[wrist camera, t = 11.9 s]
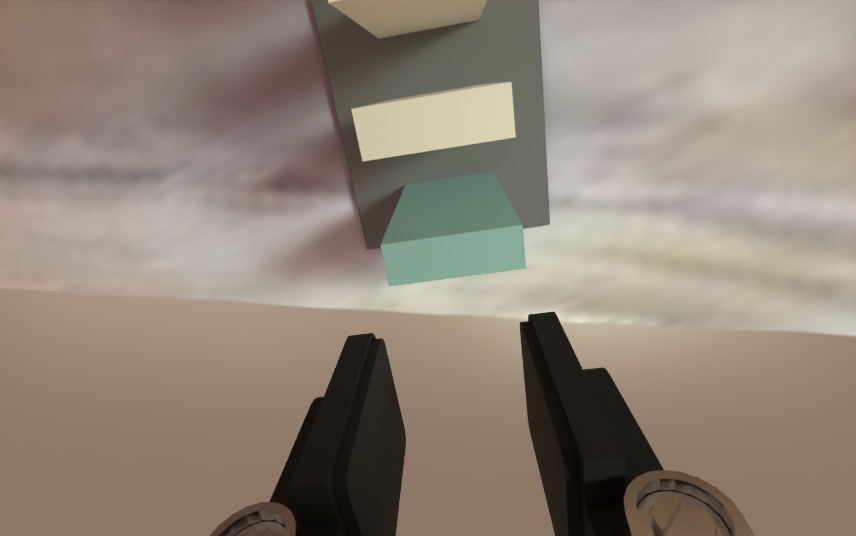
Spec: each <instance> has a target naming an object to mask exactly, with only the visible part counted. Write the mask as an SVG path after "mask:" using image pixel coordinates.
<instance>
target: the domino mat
mask: <svg viewBox="0 0 856 536" xmlns="http://www.w3.org/2000/svg"><path fill="white" fill-rule="evenodd" d="M311 2H312V6H313V11H314V15H315V20H316V24H317V28H318V33H319V37H320V42H321V46H322V50H323V55H324V59H325V64H326V68H327V72H328V77H329V81H330V86H331V90H332V95H333V99H334V103H335V108H336V112H337V117H338V121H339V125H340V130H341V134H342V139H343V143H344V147H345V152H346V156H347V161H348V165H349V169H350V174H351V178H352V183H353V187H354V192H355V196H356V200H357V205H358V209H359V214H360V218H361V222H362V227H363V231H364V236H365V240H366V244H367V249H375V248H381V242H382V240H383V238H384V235H385V233H386V230H387V228H388V225H389V223H390V221H391V218H392V216H393V213H394V211H395V209H396V206H397V204H398V201H399V199H400V197H401V194H402V192H403V189H404V187H405V185H410V184H416V183H423V182H429V181H436V180H442V179H449V178H455V177H462V176H468V175H475V174H481V173H488V172H494V174H495V176H496V178H497V180H498V181H499V183H500V185H501V187H502V189H503V190H504V192H505V194H506V196H507V198H508V199H509V201H510V203H511V205H512V207H513V208H514V210H515V212H516V214H517V216H518V217H519V219H520V221H521V223H522V225H523V228H527V227H535V226H542V225H549V224H550V218H549V198H548V179H547V159H546V140H545V120H544V101H543V82H542V62H541V43H540V23H539V4H538V0H487V2H486V4H485V7H484V9H483V11H482V13H481V15H480V17H479V19H478V20H476V21H471V22H466V23H460V24H455V25H449V26H444V27H439V28H433V29H428V30H423V31H417V32H412V33H406V34H401V35H396V36H390V37H385V38H380V39H379V38H377V37H376V36H374V35H373V34H372V33H370V32H369V31H367V30H366V29H365V28H363V27H362V26H360V25H359V24H358V23H356V22H355V21H353V20H352V19H351V18H349V17H348V16H346V15H345V14H344V13H342V12H341V11H339V10H338V9H337V8H335V7H334V6H332V5H331V4H330V3H328V0H311ZM501 82H512V95H513V108H514V121H515V134H516V137H515V138H508V139H502V140H496V141H489V142H483V143H477V144H470V145H464V146H458V147H451V148H445V149H439V150H432V151H426V152H420V153H413V154H407V155H401V156H394V157H388V158H382V159H375V160H369V161H363V162H362V157H361V152H360V148H359V143H358V138H357V134H356V129H355V124H354V120H353V115H352V110H351V109H354V108H358V107H362V106H366V105H371V104H375V103H379V102H383V101H388V100H393V99H399V98H404V97H410V96H416V95H422V94H428V93H434V92H439V91H445V90H451V89H457V88H463V87H469V86H474V85H480V84H488V83H501Z"/></svg>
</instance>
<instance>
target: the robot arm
mask: <svg viewBox="0 0 856 536" xmlns="http://www.w3.org/2000/svg"><path fill="white" fill-rule="evenodd" d="M520 334H521V344H522V345H521V346H522V357H523V368H524V379H525V391H526V402H527V413H528V422H529V429H530V434H531V438H532V442H533V446H534V450H535V454H536V459H537V463H538V467H539V471H540V475H541V479H542V483H543V487H544V492H545V495H546V500H547V504H548V508H549V512H550V516H551V520H552V524H553V528H554V533H555V536H755V535H754V533H753V532H752V530H751V528H750V526H749V525H748V523H747V521H746V519H745V518H744V516H743V514H742V513H741V512H740V510H739V509H738V508H737V507H736V505H735V504H734V503H733V501H732V500H731V499H730V498H728V497H727V496H726V495H725V494H724V493H722V492H721V491H720V490H719V489H717V487H715V486H713V485H711V484H709V483H708V482H706V481H704V480H702V479H700V478H698V477H695V476H692V475H689V474H686V473H683V472H678V471H669V470H664V469H663V468H662V466H661V465H660V462H659V461H658V459H657V457H656V455H655V454H654V452H653V450H652V448H651V447H650V445H649V443H648V441H647V439H646V438H645V436H644V434H643V433H642V431H641V429H640V427H639V426H638V424H637V422H636V420H635V418H634V417H633V415H632V413H631V411H630V410H629V408H628V406H627V404H626V403H625V401H624V399H623V398H622V396H621V394H620V392H619V390H618V388H617V387H616V385H615V383H614V382H613V380H612V378H611V376H610V374H609V373H608V372H607V370H606V369H605V368H594V369H584V370H583V369H582V367H581V365H580V363H579V361H578V359H577V357H576V355H575V353H574V350H573V348H572V346H571V344H570V342H569V340H568V338H567V336H566V334H565V332H564V330H563V328H562V326H561V324H560V322H559V319H558V317H557V315H556V313H555V312H547V313H539V314H530V315H529V316H528V321H527V322H520ZM405 447H406V437H405V428H404V424H403V420H402V415H401V411H400V407H399V403H398V398H397V394H396V390H395V385H394V381H393V376H392V372H391V368H390V363H389V359H388V355H387V351H386V346H385V342H384V340H383V339H382V338H381V339H376V337H375V335H374V334H373V333H369V334H361V335H353V336H348V338H347V340H346V342H345V345H344V347H343V350H342V352H341V355H340V357H339V360H338V363H337V365H336V368H335V370H334V373H333V375H332V378H331V380H330V383H329V385H328V388H327V390H326V393H325V396H324V397H318V398H316V399H314V400H313V402H312V404H311V406H310V408H309V411H308V413H307V415H306V417H305V420H304V422H303V425H302V427H301V429H300V432H299V434H298V436H297V439H296V441H295V443H294V446H293V448H292V450H291V453H290V455H289V457H288V460H287V462H286V465H285V467H284V469H283V472H282V474H281V476H280V479H279V481H278V483H277V486H276V488H275V490H274V493H273V495H272V497H271V500H270V502H261V503H257V504H254V505H251V506H247V507H246V508H244V509H242V510H240V511H238V512H236V513H234V514H232V515H231V516H230V517H229V518H227V519H226V520H225V521H224V522H222V523H221V524H220V525H219V526H218V527H217V528H216V530H215V531H214V532H213V533H212V534H211V535H210V536H396V527H397V518H398V509H399V499H400V491H401V482H402V474H403V464H404V455H405Z"/></svg>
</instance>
